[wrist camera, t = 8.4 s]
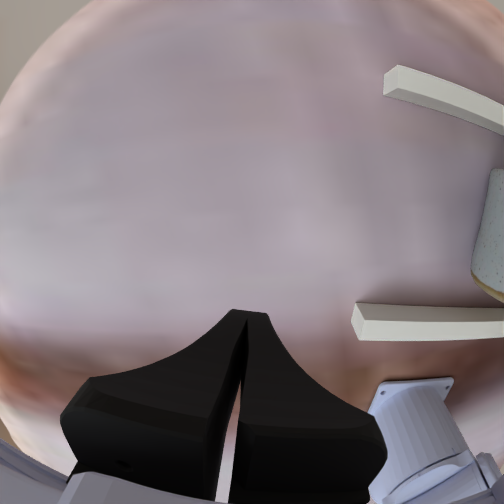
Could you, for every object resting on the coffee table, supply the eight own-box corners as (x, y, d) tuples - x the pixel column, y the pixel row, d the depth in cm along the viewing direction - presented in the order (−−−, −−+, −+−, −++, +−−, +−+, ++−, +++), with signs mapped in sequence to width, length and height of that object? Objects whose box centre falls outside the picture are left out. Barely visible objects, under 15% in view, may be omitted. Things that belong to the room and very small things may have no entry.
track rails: (515, 322, 20) (529, 334, 18) (350, 321, 21) (359, 340, 18) (550, 143, 15) (568, 145, 13) (383, 74, 16) (397, 64, 13)
